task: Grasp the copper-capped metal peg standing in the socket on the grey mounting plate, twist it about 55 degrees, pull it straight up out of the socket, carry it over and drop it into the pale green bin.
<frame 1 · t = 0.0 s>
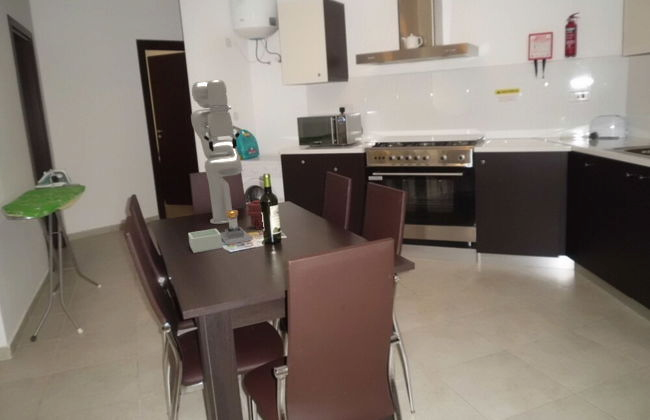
hand: (223, 149, 218), 37 cm above the table, tool pointing down, fingers open, 9 cm apart
stud plate: (235, 238, 212), on the table
bin: (206, 246, 203), on the table
mechanical component: (259, 227, 229), on the table
copper-capped metal peg: (234, 234, 212), point 2 cm above the table, touching stud plate
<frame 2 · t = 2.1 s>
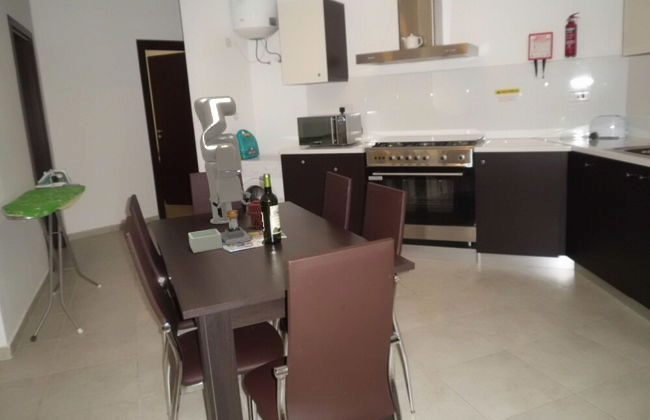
hand: (232, 215, 210), 10 cm above the table, tool pointing down, fingers open, 9 cm apart
nothing on the table moved.
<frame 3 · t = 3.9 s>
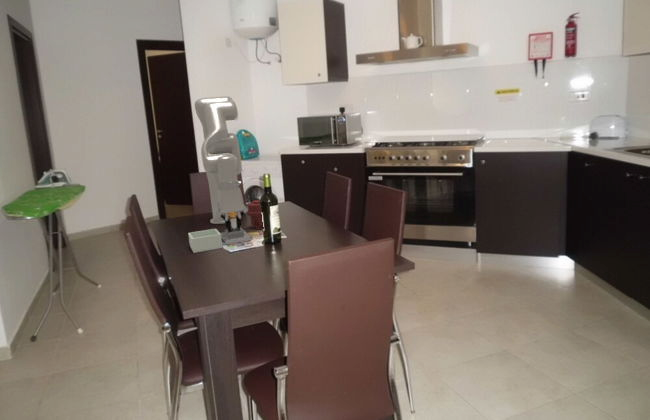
hand: (233, 228, 211), 5 cm above the table, tool pointing down, fingers closed on copper-capped metal peg, 3 cm apart
copper-capped metal peg: (234, 234, 212), point 2 cm above the table, touching gripper, stud plate
everything else where it was.
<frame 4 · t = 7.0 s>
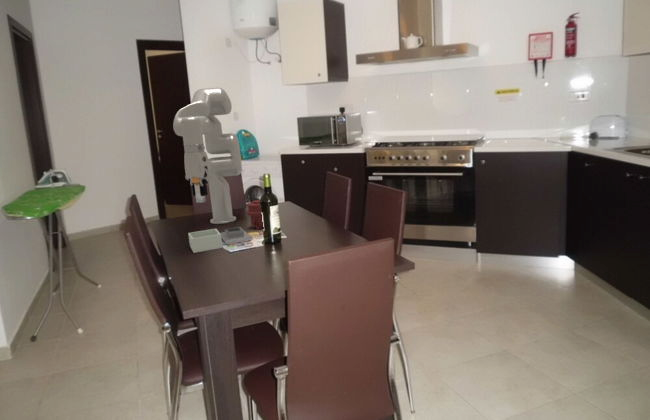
hand: (200, 194, 199), 21 cm above the table, tool pointing down, fingers closed on copper-capped metal peg, 3 cm apart
copper-capped metal peg: (201, 201, 200), point 19 cm above the table, touching gripper
everything else where it was.
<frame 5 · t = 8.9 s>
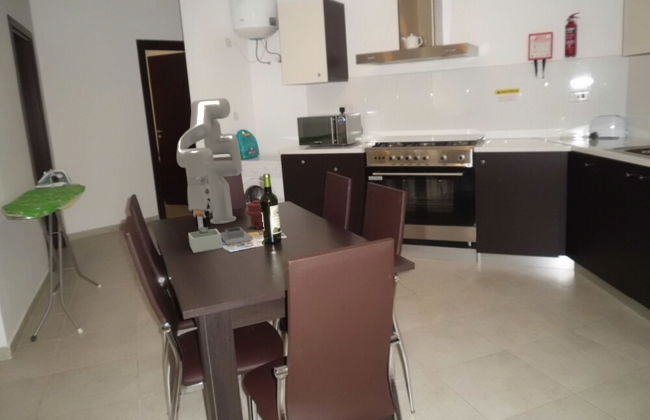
hand: (203, 226, 201), 9 cm above the table, tool pointing down, fingers closed on copper-capped metal peg, 3 cm apart
copper-capped metal peg: (203, 232, 202), point 6 cm above the table, touching gripper
everything else where it was.
when the fingers open (6 cm above the table, at t = 10.2 s): copper-capped metal peg drops 2 cm, resting on bin.
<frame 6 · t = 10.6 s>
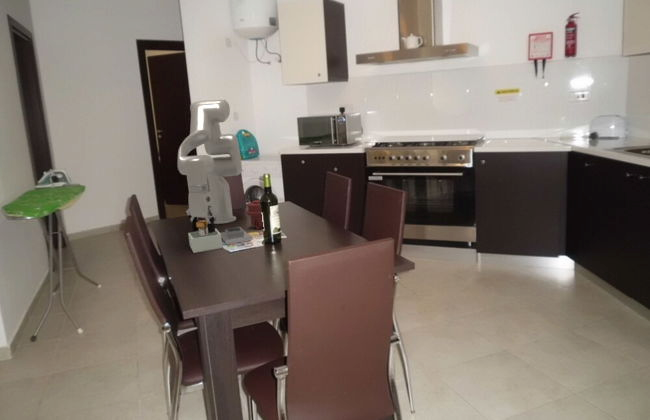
hand: (204, 231, 202), 7 cm above the table, tool pointing down, fingers open, 8 cm apart
copper-capped metal peg: (205, 245, 203), point 1 cm above the table, touching bin
everything else where it was.
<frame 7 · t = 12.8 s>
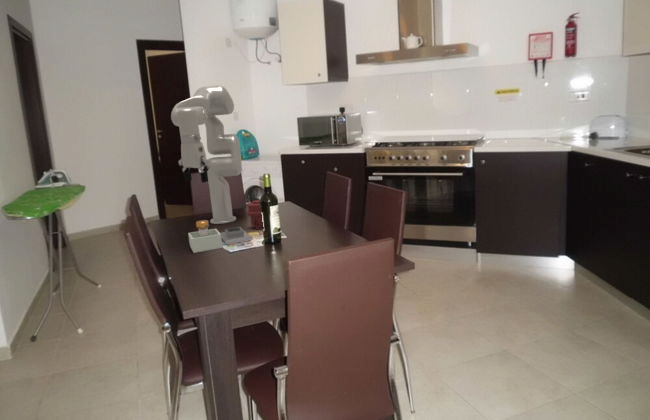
hand: (196, 181, 205), 26 cm above the table, tool pointing down, fingers open, 9 cm apart
nothing on the table moved.
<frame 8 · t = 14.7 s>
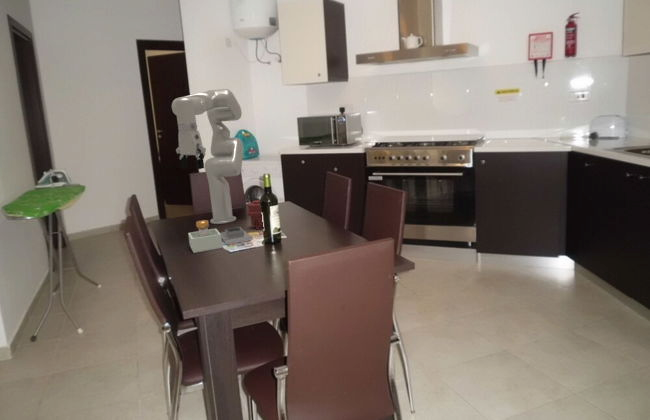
hand: (193, 168, 214), 30 cm above the table, tool pointing down, fingers open, 9 cm apart
nothing on the table moved.
at the end: copper-capped metal peg inside the target area on the bin (0.3 cm from its centre), point 0.6 cm above the bin's base; the gripper is holding nothing; copper-capped metal peg touching bin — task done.
